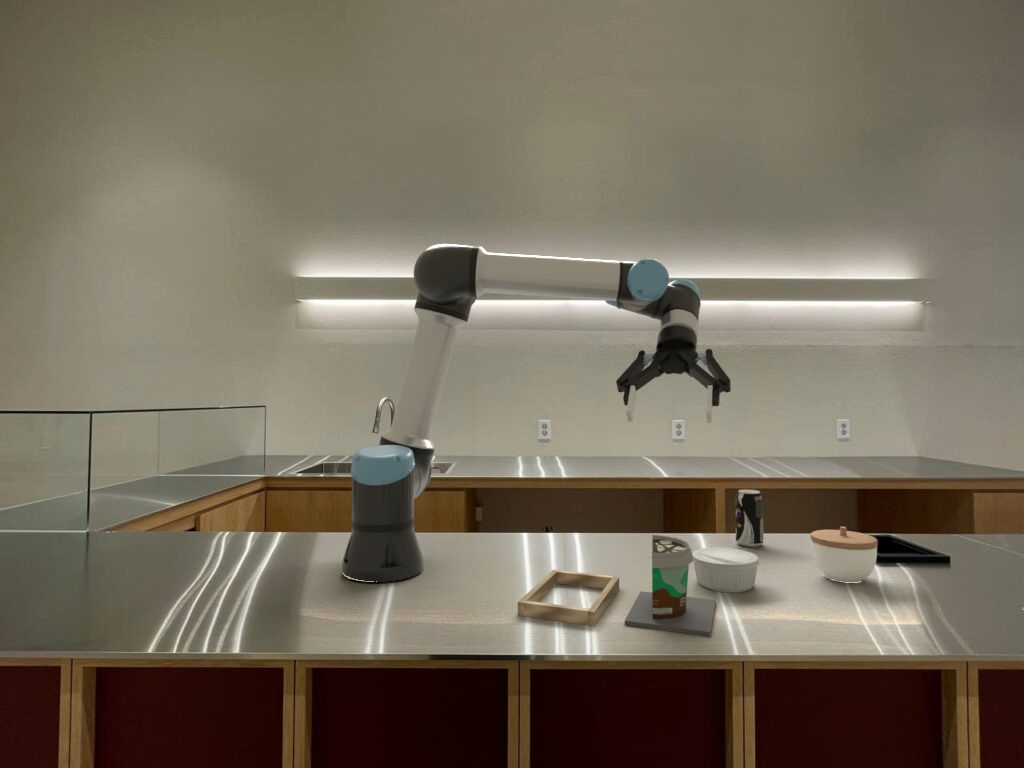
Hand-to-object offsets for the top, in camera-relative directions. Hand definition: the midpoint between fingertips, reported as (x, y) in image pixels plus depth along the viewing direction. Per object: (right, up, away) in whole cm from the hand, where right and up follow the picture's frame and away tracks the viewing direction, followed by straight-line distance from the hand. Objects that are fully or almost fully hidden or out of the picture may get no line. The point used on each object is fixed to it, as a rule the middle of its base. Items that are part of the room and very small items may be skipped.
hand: (668, 417), depth 107 cm
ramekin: (+10, -30, +1) cm, 32 cm away
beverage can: (+25, -30, +29) cm, 49 cm away
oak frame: (-18, -30, -7) cm, 35 cm away
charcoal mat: (-3, -29, -13) cm, 32 cm away
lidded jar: (+33, -30, +4) cm, 45 cm away
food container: (-3, -29, -13) cm, 32 cm away
